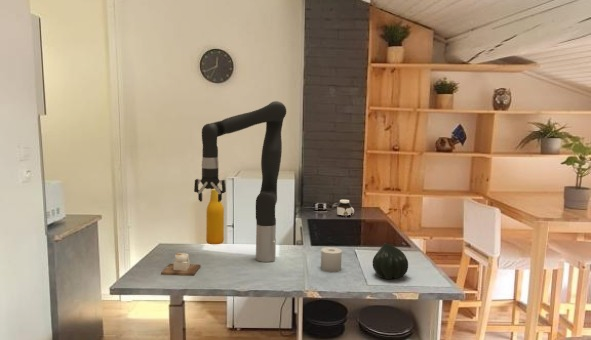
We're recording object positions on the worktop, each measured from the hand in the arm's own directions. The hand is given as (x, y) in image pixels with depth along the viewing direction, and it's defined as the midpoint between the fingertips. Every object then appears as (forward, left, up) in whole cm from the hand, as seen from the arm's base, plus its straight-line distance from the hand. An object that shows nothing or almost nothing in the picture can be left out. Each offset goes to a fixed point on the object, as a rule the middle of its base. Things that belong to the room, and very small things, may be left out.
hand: (210, 201), depth 191 cm
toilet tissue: (-57, +4, -28) cm, 63 cm away
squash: (-82, +13, -28) cm, 88 cm away
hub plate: (+9, +15, -28) cm, 33 cm away
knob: (+9, +15, -27) cm, 32 cm away
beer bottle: (+4, -29, -28) cm, 41 cm away
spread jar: (-74, -105, -28) cm, 132 cm away
